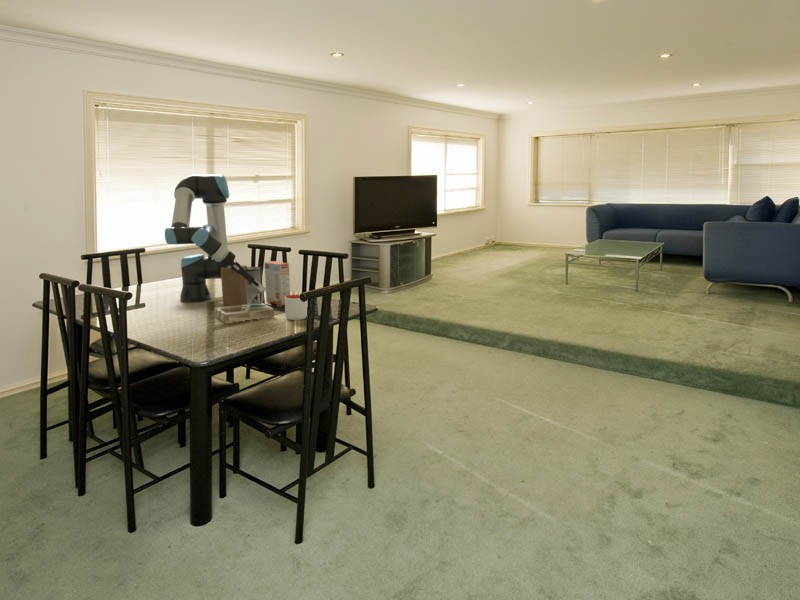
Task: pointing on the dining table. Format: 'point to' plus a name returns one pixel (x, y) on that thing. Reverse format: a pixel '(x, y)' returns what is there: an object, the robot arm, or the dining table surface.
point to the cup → (295, 307)
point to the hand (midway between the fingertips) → (261, 288)
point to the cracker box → (277, 282)
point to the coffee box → (252, 292)
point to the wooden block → (233, 287)
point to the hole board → (243, 312)
